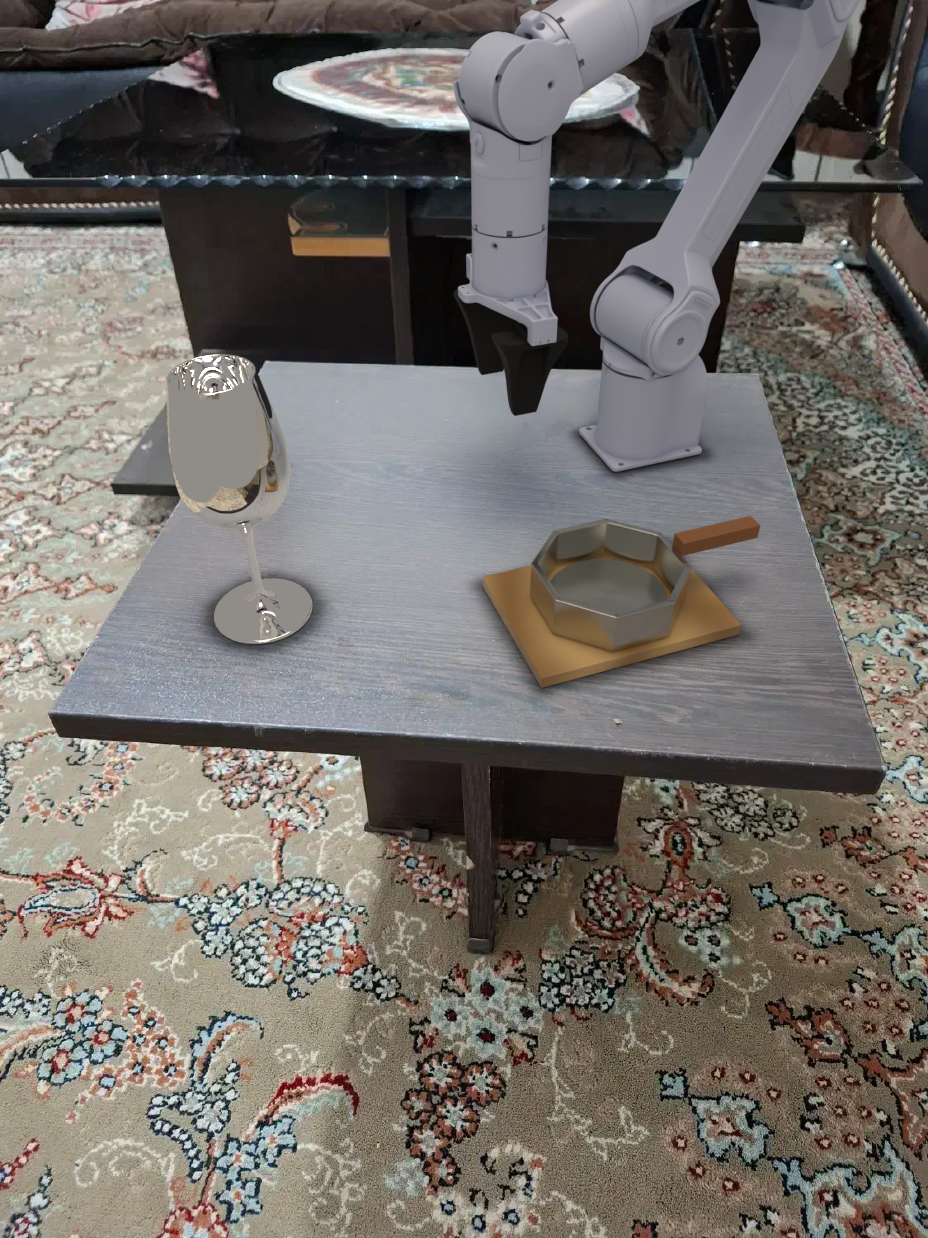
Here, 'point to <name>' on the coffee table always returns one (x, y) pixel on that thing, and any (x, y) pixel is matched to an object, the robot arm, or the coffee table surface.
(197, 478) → the wineglass
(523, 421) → the coffee table surface
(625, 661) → the cutting board
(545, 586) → the saucepan
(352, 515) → the coffee table surface
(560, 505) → the coffee table surface
